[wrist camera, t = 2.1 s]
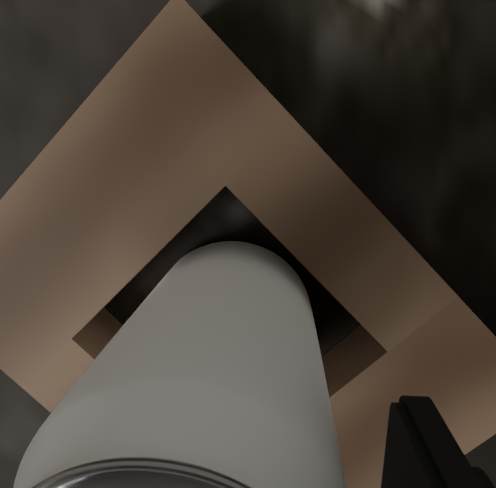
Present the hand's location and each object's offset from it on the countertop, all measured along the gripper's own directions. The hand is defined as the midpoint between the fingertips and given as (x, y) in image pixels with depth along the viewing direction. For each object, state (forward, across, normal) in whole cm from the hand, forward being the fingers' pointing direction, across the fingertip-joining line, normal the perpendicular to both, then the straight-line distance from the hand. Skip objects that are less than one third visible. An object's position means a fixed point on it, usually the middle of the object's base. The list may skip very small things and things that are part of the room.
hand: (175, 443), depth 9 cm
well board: (+9, 0, +1) cm, 9 cm away
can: (+9, 0, +1) cm, 9 cm away
